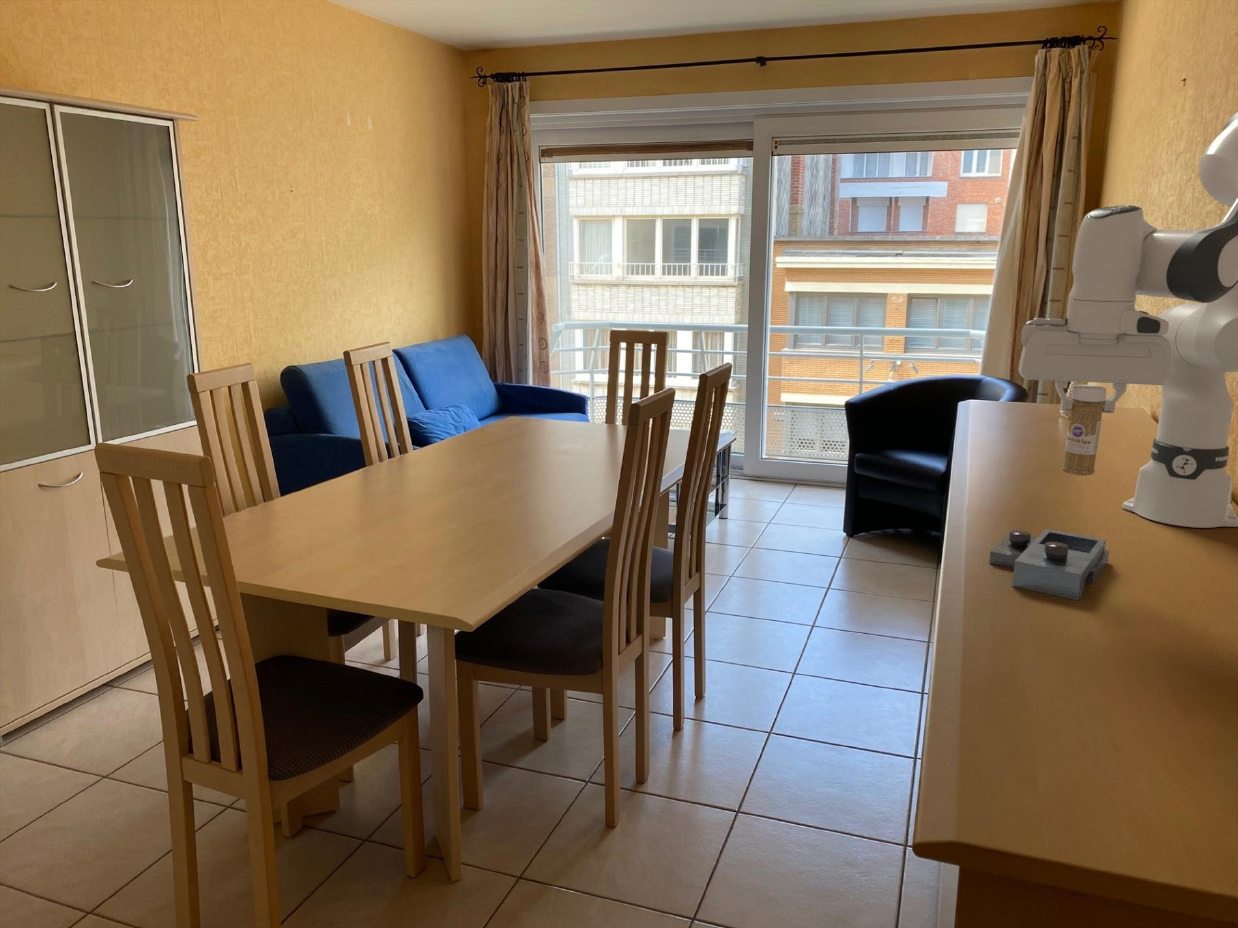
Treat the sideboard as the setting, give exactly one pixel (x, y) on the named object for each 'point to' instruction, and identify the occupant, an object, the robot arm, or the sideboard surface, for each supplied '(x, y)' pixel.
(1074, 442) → the sprinkles bottle
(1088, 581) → the grey knobbed tray
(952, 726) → the sideboard surface
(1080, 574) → the grey box with knob
